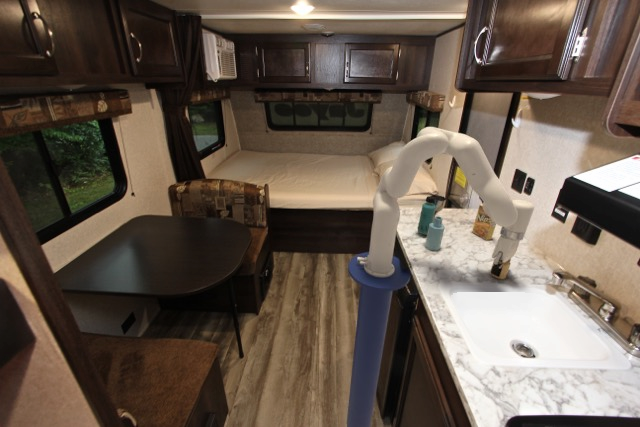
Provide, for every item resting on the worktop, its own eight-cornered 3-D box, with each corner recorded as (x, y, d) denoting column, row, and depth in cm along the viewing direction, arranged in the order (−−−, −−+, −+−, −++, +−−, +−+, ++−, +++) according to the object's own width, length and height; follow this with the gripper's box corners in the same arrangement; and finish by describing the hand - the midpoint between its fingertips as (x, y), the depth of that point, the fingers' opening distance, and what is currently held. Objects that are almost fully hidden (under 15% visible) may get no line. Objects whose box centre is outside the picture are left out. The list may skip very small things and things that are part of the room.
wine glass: (426, 219, 162) (431, 194, 156) (441, 222, 158) (447, 197, 152) (423, 224, 156) (428, 198, 149) (439, 228, 152) (444, 202, 146)
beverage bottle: (420, 229, 150) (427, 193, 142) (432, 234, 146) (440, 197, 138) (414, 233, 146) (420, 196, 138) (426, 238, 142) (433, 200, 133)
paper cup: (493, 278, 115) (497, 264, 112) (487, 269, 120) (492, 256, 117) (508, 279, 114) (513, 265, 111) (502, 271, 119) (506, 257, 116)
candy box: (471, 232, 149) (478, 204, 143) (477, 230, 151) (485, 203, 144) (485, 240, 142) (494, 211, 135) (492, 239, 143) (501, 210, 137)
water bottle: (426, 249, 133) (432, 220, 126) (424, 242, 138) (429, 214, 132) (441, 251, 132) (448, 221, 126) (438, 244, 138) (444, 215, 131)
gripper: (511, 222, 116) (498, 260, 124) (491, 234, 107) (478, 274, 114) (532, 230, 111) (518, 269, 118) (513, 243, 101) (498, 285, 109)
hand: (498, 271), depth 116 cm, fingers closed on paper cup, 5 cm apart
